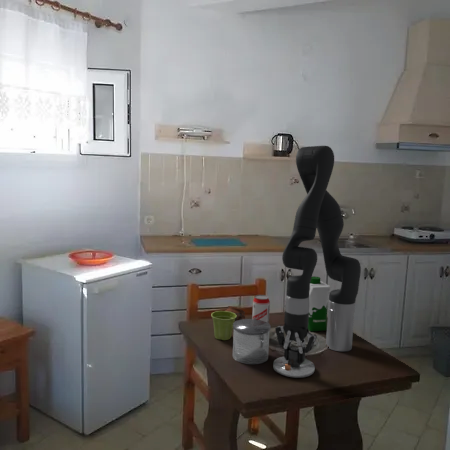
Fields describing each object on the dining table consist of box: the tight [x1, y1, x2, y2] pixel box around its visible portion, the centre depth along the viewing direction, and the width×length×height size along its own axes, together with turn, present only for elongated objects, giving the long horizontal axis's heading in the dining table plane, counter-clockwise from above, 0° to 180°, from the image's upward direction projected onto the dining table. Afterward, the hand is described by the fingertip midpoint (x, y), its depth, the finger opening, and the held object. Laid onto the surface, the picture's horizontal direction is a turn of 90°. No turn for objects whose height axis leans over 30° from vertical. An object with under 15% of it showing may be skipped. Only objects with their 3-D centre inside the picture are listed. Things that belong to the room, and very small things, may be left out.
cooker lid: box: [272, 346, 315, 379], centre depth 155 cm, size 13×13×6 cm
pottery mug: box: [224, 305, 246, 322], centre depth 194 cm, size 12×10×8 cm
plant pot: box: [210, 310, 237, 341], centre depth 180 cm, size 9×9×9 cm
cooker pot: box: [232, 318, 272, 365], centre depth 164 cm, size 13×13×11 cm
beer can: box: [251, 294, 271, 324], centre depth 180 cm, size 6×6×16 cm
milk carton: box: [308, 276, 332, 332], centre depth 193 cm, size 9×9×20 cm
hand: (294, 361), depth 155 cm, fingers closed on cooker lid, 4 cm apart
